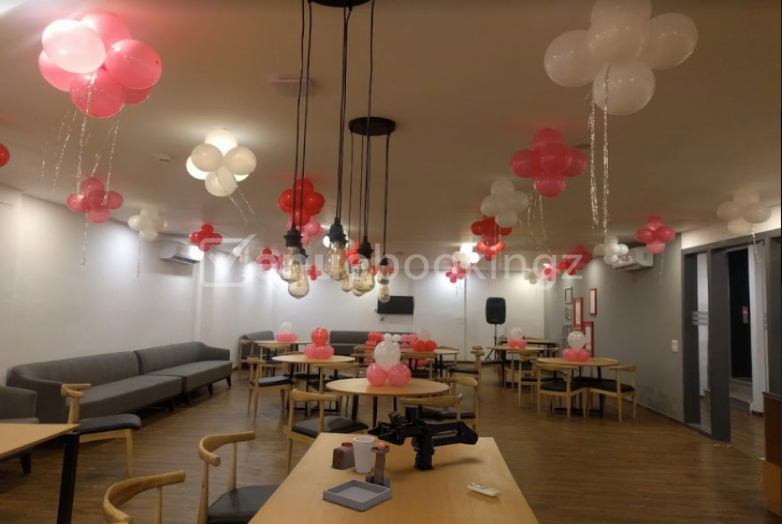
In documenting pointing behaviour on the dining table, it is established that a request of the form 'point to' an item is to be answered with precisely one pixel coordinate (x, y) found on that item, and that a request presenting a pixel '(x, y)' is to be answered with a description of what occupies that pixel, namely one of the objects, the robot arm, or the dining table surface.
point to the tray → (357, 494)
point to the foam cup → (363, 453)
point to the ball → (381, 446)
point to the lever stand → (382, 482)
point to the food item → (343, 456)
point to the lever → (379, 463)
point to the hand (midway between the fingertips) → (372, 434)
